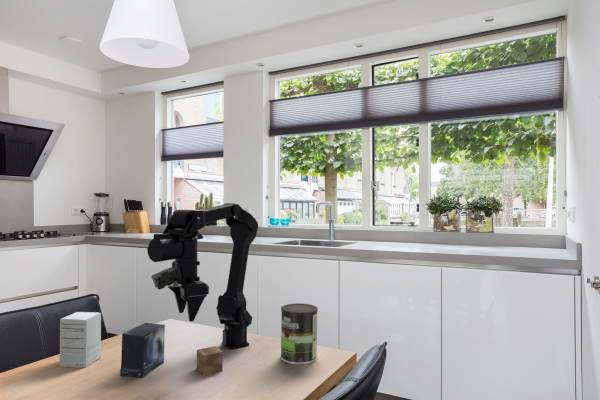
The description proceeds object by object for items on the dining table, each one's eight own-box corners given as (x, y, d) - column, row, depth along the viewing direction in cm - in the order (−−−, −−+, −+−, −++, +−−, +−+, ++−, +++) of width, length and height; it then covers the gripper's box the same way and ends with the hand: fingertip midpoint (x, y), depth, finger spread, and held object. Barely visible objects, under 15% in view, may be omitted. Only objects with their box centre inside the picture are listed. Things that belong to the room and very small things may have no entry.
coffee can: (300, 368, 106) (300, 314, 107) (273, 358, 113) (273, 307, 114) (325, 357, 114) (325, 307, 114) (298, 349, 121) (298, 301, 121)
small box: (143, 378, 100) (143, 335, 100) (119, 376, 101) (120, 333, 101) (165, 362, 110) (166, 323, 110) (143, 360, 111) (144, 322, 112)
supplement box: (76, 356, 114) (76, 311, 114) (101, 357, 113) (102, 312, 113) (58, 367, 106) (59, 318, 107) (85, 368, 106) (86, 319, 106)
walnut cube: (214, 365, 109) (214, 346, 109) (222, 371, 104) (222, 351, 105) (196, 369, 106) (196, 349, 106) (203, 375, 102) (204, 355, 102)
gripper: (146, 255, 110) (146, 313, 110) (163, 264, 95) (163, 331, 95) (187, 252, 116) (187, 307, 116) (209, 260, 101) (209, 323, 100)
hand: (186, 316), depth 107 cm, fingers open, 9 cm apart
